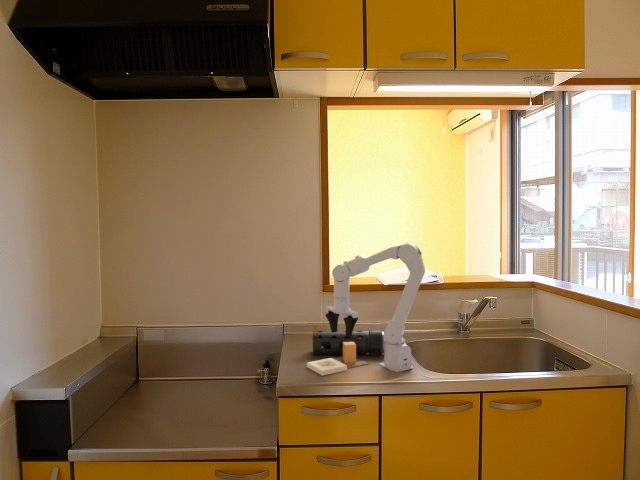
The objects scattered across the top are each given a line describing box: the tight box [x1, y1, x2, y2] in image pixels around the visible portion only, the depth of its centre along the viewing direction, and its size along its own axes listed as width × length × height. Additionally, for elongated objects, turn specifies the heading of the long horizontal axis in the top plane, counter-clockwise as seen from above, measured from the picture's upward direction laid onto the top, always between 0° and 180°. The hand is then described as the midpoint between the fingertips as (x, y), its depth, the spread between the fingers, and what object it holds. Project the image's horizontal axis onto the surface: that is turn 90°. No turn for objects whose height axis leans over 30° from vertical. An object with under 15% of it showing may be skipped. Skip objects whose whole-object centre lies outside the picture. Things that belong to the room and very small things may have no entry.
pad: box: [331, 355, 370, 369], centre depth 165 cm, size 12×9×1 cm
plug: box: [342, 342, 357, 363], centre depth 165 cm, size 4×4×6 cm
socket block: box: [306, 357, 348, 376], centre depth 158 cm, size 10×10×2 cm
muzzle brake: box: [312, 329, 385, 356], centre depth 175 cm, size 10×28×10 cm
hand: (341, 334), depth 166 cm, fingers open, 7 cm apart
